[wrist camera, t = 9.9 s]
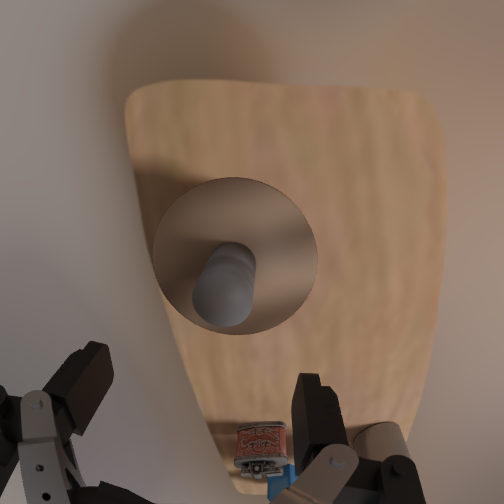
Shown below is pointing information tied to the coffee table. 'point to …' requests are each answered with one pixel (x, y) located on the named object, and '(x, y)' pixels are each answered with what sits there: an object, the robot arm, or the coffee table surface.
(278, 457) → the lighter
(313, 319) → the coffee table surface
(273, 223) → the walnut lid
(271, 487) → the perfume bottle
